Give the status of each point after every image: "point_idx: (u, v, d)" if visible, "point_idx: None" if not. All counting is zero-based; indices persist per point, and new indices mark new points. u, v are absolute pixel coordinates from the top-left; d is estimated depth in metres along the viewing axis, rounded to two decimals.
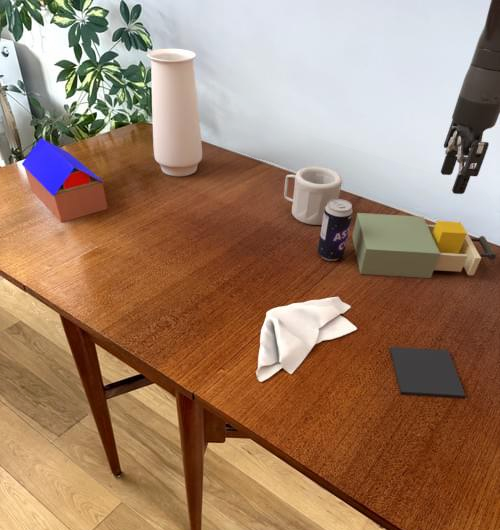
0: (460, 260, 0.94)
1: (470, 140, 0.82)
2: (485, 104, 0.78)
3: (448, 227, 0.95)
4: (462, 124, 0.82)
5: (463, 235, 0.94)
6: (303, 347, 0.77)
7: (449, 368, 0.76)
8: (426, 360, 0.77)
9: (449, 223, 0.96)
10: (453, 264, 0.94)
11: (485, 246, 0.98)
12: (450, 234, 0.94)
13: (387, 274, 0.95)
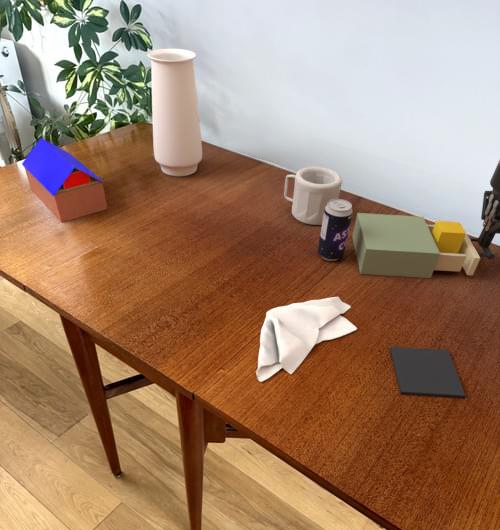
0: (459, 260, 0.94)
1: None
2: None
3: (447, 227, 0.95)
4: None
5: (462, 235, 0.94)
6: (303, 347, 0.77)
7: (449, 368, 0.76)
8: (426, 360, 0.77)
9: (448, 223, 0.96)
10: (452, 264, 0.94)
11: None
12: (449, 234, 0.94)
13: (387, 274, 0.95)
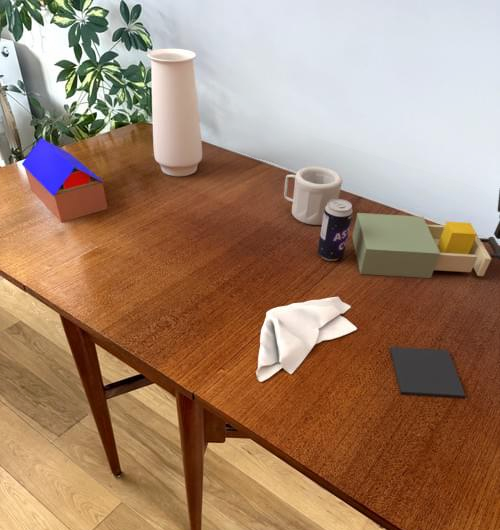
0: (470, 260, 0.94)
1: None
2: None
3: (457, 228, 0.95)
4: None
5: (473, 235, 0.94)
6: (303, 347, 0.77)
7: (449, 368, 0.76)
8: (426, 360, 0.77)
9: (459, 223, 0.96)
10: (463, 264, 0.94)
11: (495, 246, 0.98)
12: (460, 234, 0.94)
13: (387, 274, 0.95)
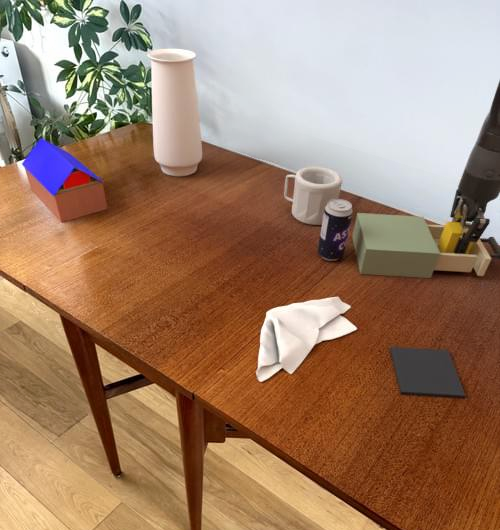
0: (470, 260, 0.94)
1: (475, 210, 0.88)
2: (489, 180, 0.85)
3: (457, 228, 0.95)
4: (467, 196, 0.88)
5: None
6: (303, 347, 0.77)
7: (449, 368, 0.76)
8: (426, 360, 0.77)
9: (459, 223, 0.96)
10: (463, 264, 0.94)
11: (495, 246, 0.98)
12: None
13: (387, 274, 0.95)
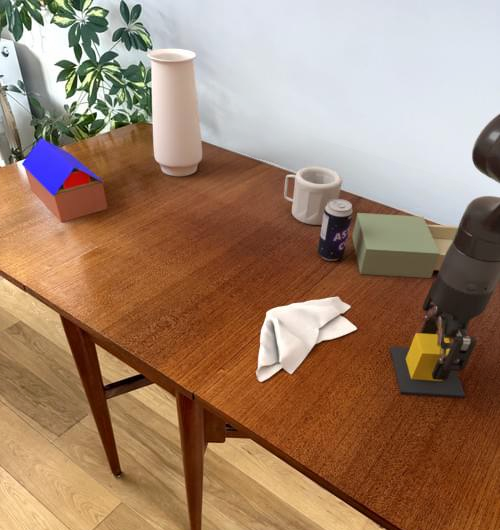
0: None
1: (453, 329, 0.64)
2: (471, 294, 0.60)
3: (430, 345, 0.71)
4: (443, 309, 0.64)
5: None
6: (303, 347, 0.77)
7: None
8: None
9: (432, 337, 0.73)
10: None
11: None
12: (433, 355, 0.70)
13: (387, 274, 0.95)
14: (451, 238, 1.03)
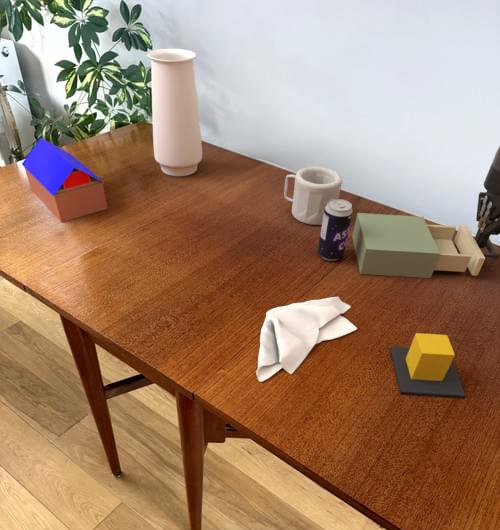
0: (464, 260, 0.94)
1: None
2: None
3: (430, 345, 0.71)
4: (494, 193, 0.87)
5: (451, 357, 0.70)
6: (303, 347, 0.77)
7: (449, 368, 0.76)
8: None
9: (432, 337, 0.73)
10: (457, 264, 0.94)
11: (489, 246, 0.98)
12: (433, 355, 0.70)
13: (387, 274, 0.95)
14: (446, 238, 1.03)
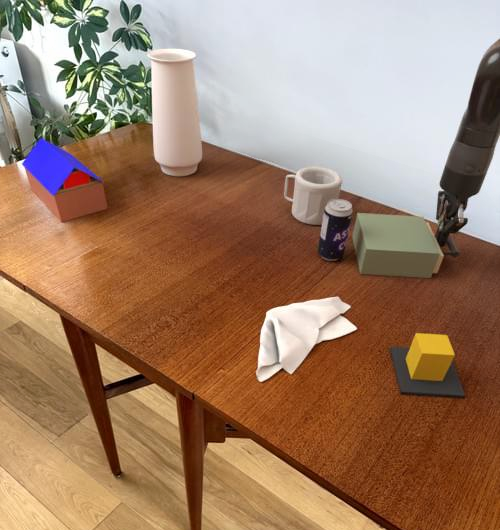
0: None
1: (456, 206, 0.88)
2: (469, 175, 0.84)
3: (430, 345, 0.71)
4: (448, 191, 0.88)
5: (451, 357, 0.70)
6: (303, 347, 0.77)
7: (449, 368, 0.76)
8: None
9: (432, 337, 0.73)
10: None
11: (450, 244, 0.98)
12: (433, 355, 0.70)
13: (387, 274, 0.95)
14: None
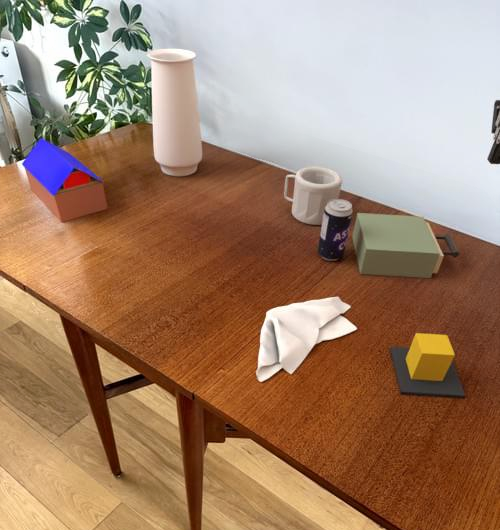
0: None
1: None
2: None
3: (430, 345, 0.71)
4: None
5: (451, 357, 0.70)
6: (303, 347, 0.77)
7: (449, 368, 0.76)
8: None
9: (432, 337, 0.73)
10: None
11: (450, 244, 0.98)
12: (433, 355, 0.70)
13: (387, 274, 0.95)
14: None
